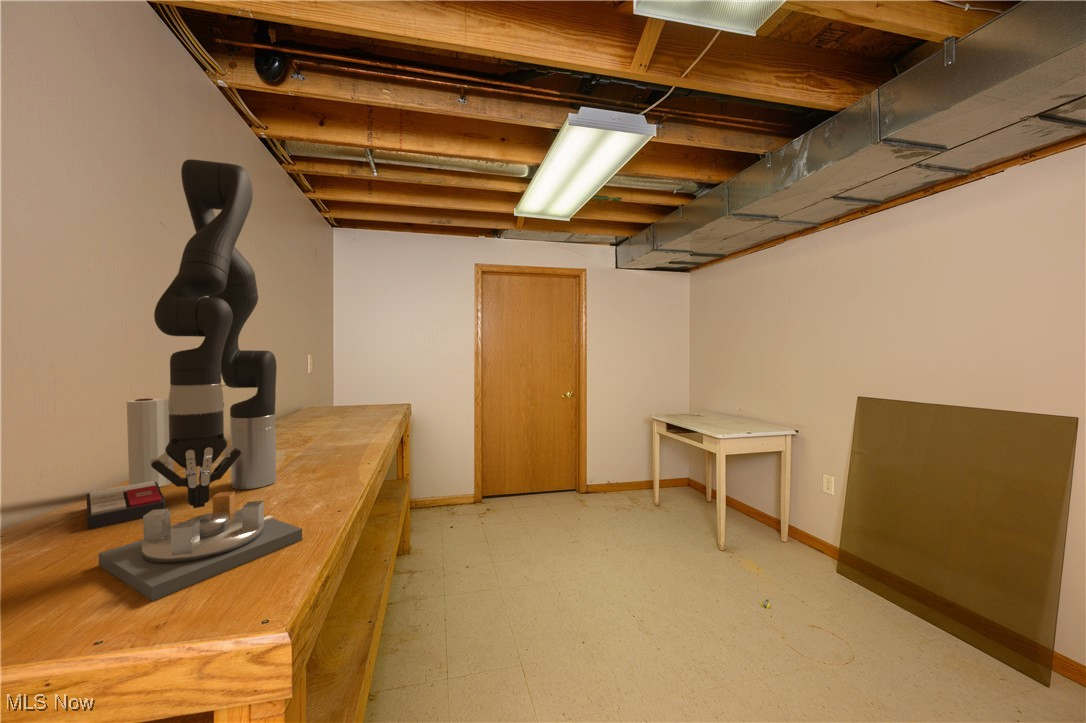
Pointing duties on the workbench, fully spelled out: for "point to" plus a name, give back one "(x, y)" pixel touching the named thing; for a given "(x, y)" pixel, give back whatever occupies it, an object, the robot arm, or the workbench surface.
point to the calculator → (122, 504)
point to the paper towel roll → (147, 439)
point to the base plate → (175, 576)
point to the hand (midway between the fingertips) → (198, 506)
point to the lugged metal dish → (201, 531)
